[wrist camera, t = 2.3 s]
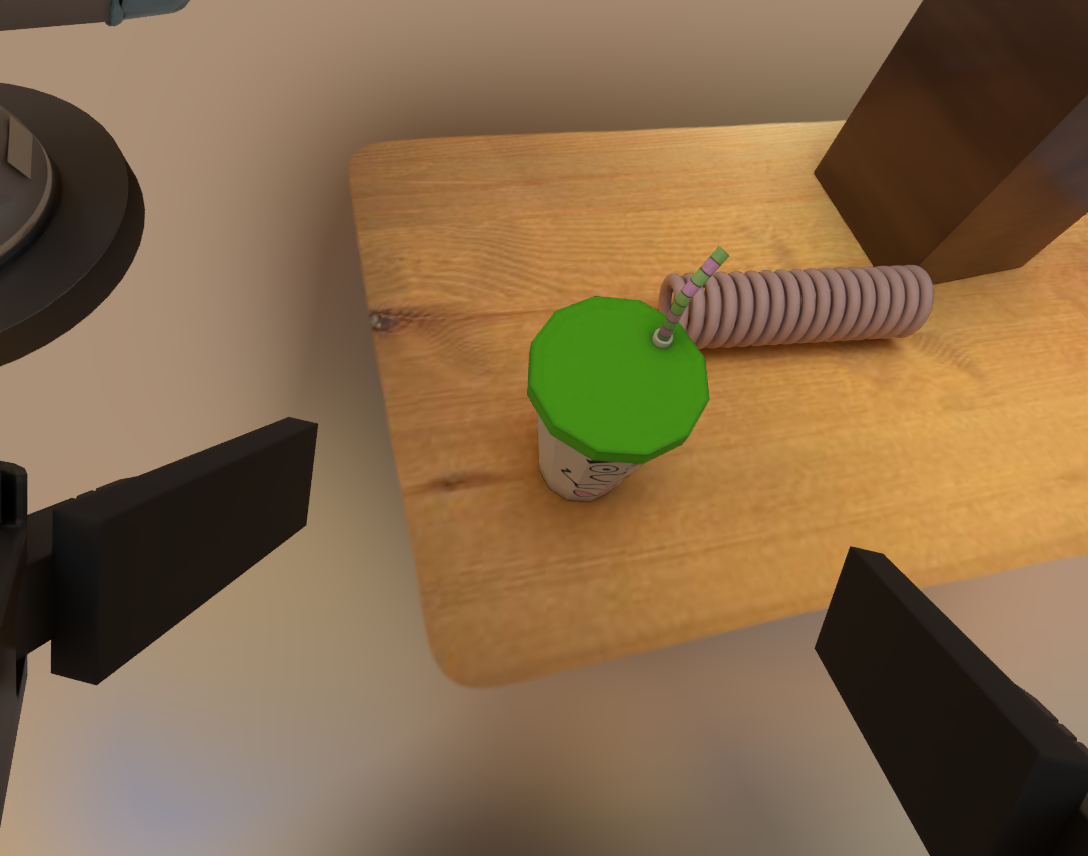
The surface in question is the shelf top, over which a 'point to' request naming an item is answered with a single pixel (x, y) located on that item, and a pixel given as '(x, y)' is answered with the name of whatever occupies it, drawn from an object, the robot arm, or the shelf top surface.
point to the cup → (614, 388)
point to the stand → (969, 138)
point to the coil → (803, 305)
